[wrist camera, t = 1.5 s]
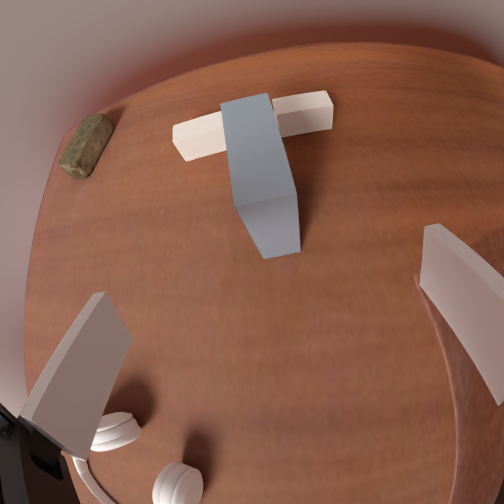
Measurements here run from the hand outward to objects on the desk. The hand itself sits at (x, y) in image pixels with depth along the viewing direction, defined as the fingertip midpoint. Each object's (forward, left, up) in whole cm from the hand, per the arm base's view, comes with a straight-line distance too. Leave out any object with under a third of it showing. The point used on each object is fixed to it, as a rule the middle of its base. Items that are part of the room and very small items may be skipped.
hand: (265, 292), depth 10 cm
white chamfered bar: (0, -24, -18) cm, 30 cm away
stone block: (+28, -32, -19) cm, 46 cm away
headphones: (+22, +20, -19) cm, 35 cm away
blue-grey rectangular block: (0, -12, -18) cm, 22 cm away
